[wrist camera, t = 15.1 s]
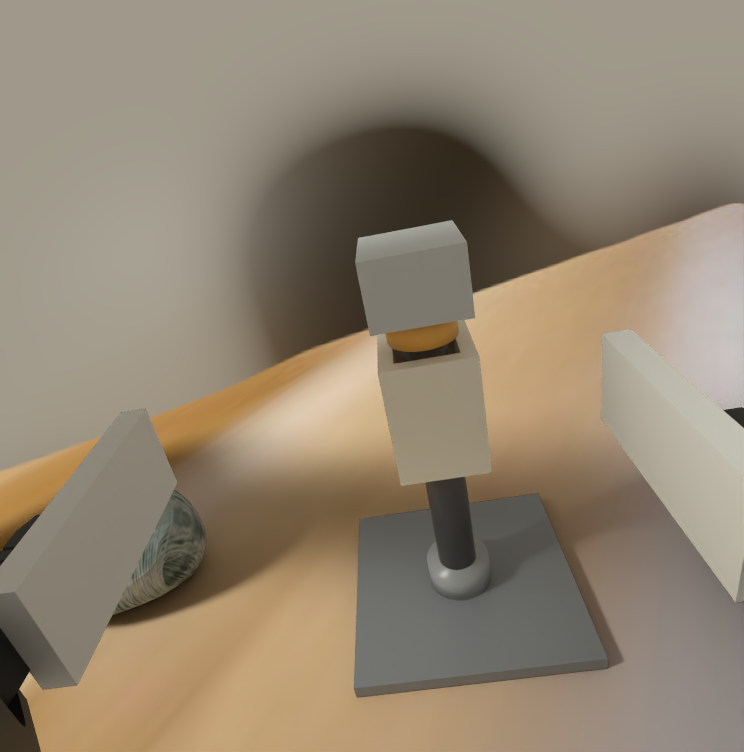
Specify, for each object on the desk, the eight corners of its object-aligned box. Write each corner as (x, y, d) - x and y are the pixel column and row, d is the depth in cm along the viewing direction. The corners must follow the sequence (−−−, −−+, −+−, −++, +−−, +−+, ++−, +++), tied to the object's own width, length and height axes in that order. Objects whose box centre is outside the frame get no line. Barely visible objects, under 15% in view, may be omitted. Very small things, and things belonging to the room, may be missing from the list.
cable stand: (607, 668, 30) (611, 247, 20) (356, 697, 31) (235, 314, 21) (538, 501, 42) (518, 191, 32) (361, 526, 44) (287, 235, 33)
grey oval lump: (224, 486, 46) (144, 436, 39) (230, 600, 41) (137, 568, 33) (92, 538, 49) (-9, 501, 41) (80, 654, 43) (-40, 636, 35)
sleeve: (491, 472, 29) (479, 356, 26) (400, 486, 30) (377, 373, 27) (476, 423, 34) (464, 320, 31) (397, 436, 34) (377, 335, 31)
